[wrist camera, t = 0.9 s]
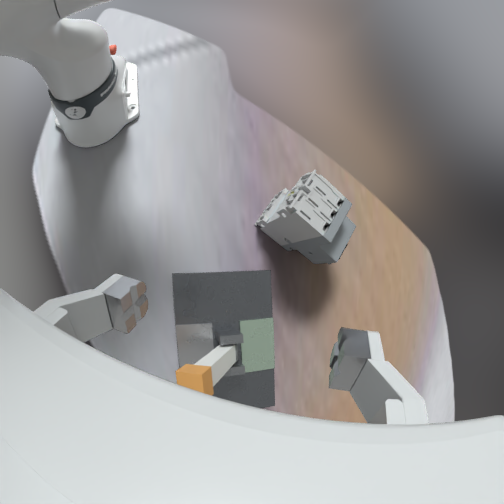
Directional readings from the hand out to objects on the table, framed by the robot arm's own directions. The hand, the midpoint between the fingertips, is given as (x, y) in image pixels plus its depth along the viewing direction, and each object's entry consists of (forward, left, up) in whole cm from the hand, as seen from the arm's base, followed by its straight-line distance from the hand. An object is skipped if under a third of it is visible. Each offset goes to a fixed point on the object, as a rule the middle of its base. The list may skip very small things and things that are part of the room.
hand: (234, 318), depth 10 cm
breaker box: (+9, +5, -37) cm, 39 cm away
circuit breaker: (-9, +21, -37) cm, 44 cm away
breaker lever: (+9, +5, -26) cm, 29 cm away
